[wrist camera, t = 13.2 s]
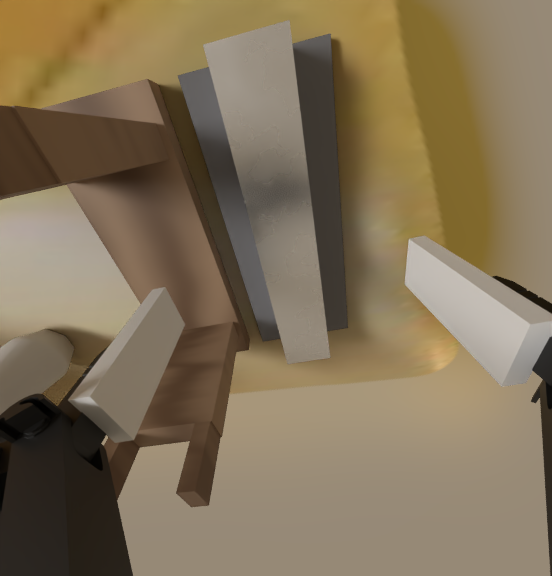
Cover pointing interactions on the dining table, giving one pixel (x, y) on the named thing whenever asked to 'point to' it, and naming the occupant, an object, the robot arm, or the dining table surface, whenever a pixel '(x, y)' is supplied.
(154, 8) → the dining table surface
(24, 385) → the salt shaker
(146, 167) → the bracket stand
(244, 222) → the rubber mat
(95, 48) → the dining table surface
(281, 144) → the metal rail
